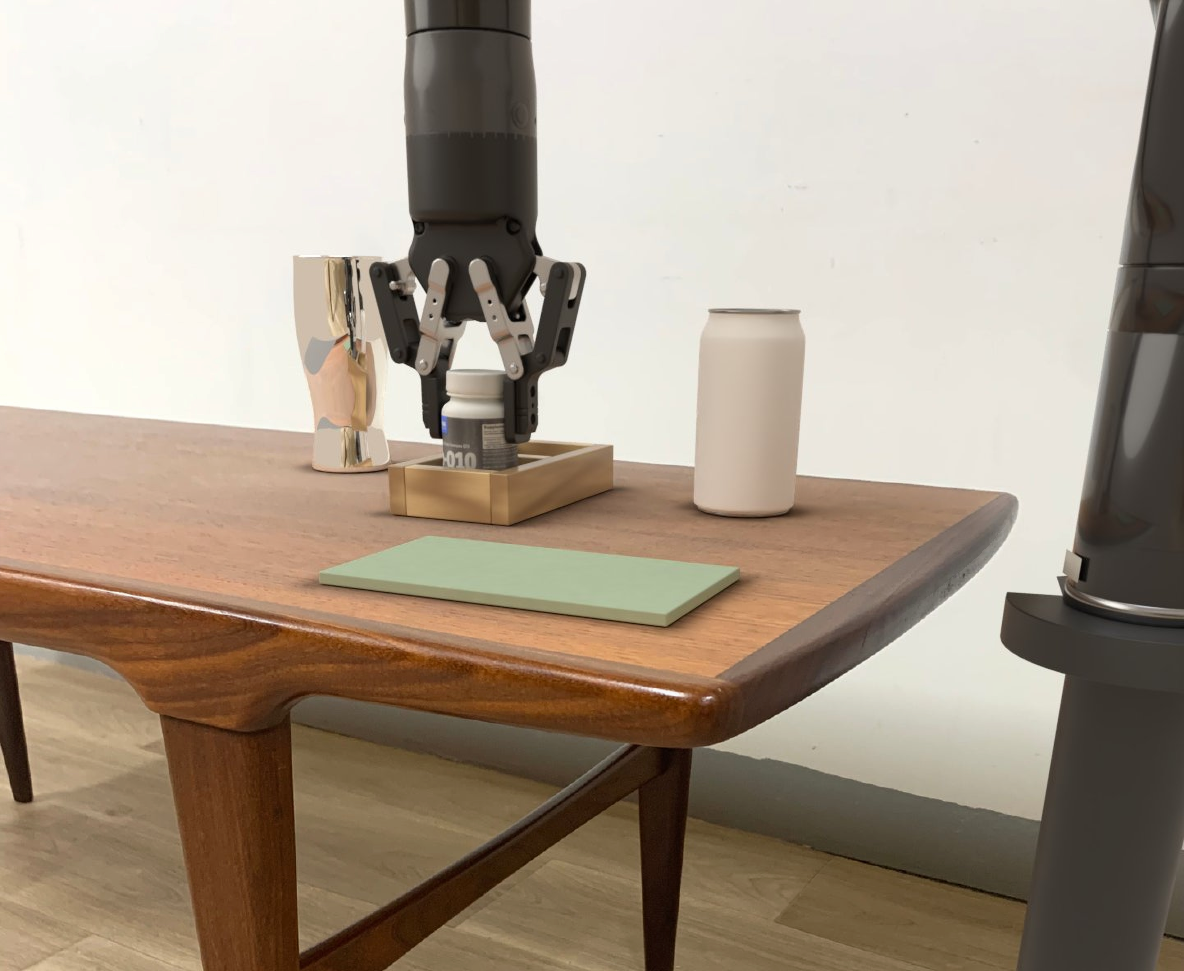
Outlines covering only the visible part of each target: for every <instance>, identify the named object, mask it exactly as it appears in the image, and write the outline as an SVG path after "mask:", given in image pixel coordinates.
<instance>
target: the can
mask: <svg viewBox="0 0 1184 971" xmlns="http://www.w3.org/2000/svg"><path fill="white" fill-rule="evenodd" d="M707 312H708V319H707V321H706V323H705V325H704V327H703V329H702V331H701V334H700V338H699V349H698V350H699V352H698V370H697V371H698V372H697V393H696V395H697V396H696V397H697V398H696V420H695V421H696V422H695V441H694V442H695V444H694V469H693V470H694V472H693V503H694V505H696V507H697V509H698V510H699V511H700V512H703V513H706V514H710V515H715V516H720V517H731V518H768V517H769V518H770V517H777V516H781V515H785V514H788V512H789V511H790V509H791V508H792V507H793V506H794V504H795V497H796V496H795V494H796V481H797V470H798V468H797V467H798V457H799V442H800V430H801V414H802V403H803V402H802V401H803V386H804V372H805V359H806V358H805V356H806V335H805V332H804V329H803V326H802V323H801V320H800V314H801V312H802V310H801V309H791V308H754V307H753V308H752V307H751V308H750V307H749V308H747V307H746V308H745V307H743V308H742V307H741V308H740V307H737V308H736V307H735V308H734V307H731V308H722V307H721V308H708V309H707Z"/></svg>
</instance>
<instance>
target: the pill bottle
mask: <svg viewBox="0 0 1184 971" xmlns="http://www.w3.org/2000/svg"><path fill="white" fill-rule="evenodd" d="M505 380H509V377H508V375H507V374H506V371H505V370H503V369H502V370H501V369H486V368H485V369H484V368H457V369H450V370H448V371H447V372H446V390H447V391H448V392H447V395H449V396H451V399H450V401H449V402H447V403H446V404H445V405H444V406H443V408H442V437H443V439H442V453H443V467H455V468H468V469H481V470H494V471H502V470H506V469H509V468H513V467H517V466H518V444H509V443H507V442H506V440H505V423H504V381H505Z"/></svg>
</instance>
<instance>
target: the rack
mask: <svg viewBox="0 0 1184 971" xmlns="http://www.w3.org/2000/svg"><path fill="white" fill-rule="evenodd" d="M387 475H388V492H389V493H388V494H389V509H390V510H389V511H390V512H389V513H390V514H391V515H393V516H394V515H396V516H405V517H406V516H408V517H417V518H427V519H437V520H445V521H446V520H447V521H456V522H458V521H459V522H467V523H477V524H489V525H491V524H492V525H498V526H507V527H508V526H511V525H514V524H517V523H520V522H523V521H526V520H528V519H531V518H534V517H536V516H539V515H542V514H545V513H547V512H550V511H553V510H557V509H559V508H562V507H564V506H567V505H571V504H574V503H575V502H579V501H582V500H585V499H588V498H589V497H593V496H596V495H598V494H601V493H604V492H606V491H609V490H612V489H613V488H614V444H607V443H606V444H604V443H589V442H576V441H574V442H573V441H561V440H560V441H559V440H544V439H530V440H529V441H528V442H525V443H521V444H518V466H517V467H513V468H509V469H506V470H502V471H494V470H481V469H468V468H455V467H443V452H441V453H436V454H432V455H428V456H423V457H419V458H414V459H410V460H406V461H402V462H397V463H392V465H389V466H388V469H387Z"/></svg>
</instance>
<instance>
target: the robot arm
mask: <svg viewBox="0 0 1184 971" xmlns="http://www.w3.org/2000/svg"><path fill="white" fill-rule="evenodd" d="M1148 4H1149V7H1150V8H1149V9H1150V12H1151V16H1152V20H1153V21H1152V22H1153V26H1154V30H1155V32H1154V40H1153V45H1152V52H1151V59H1150V65H1149V70H1148V76H1147V82H1146V83H1147V84H1146V89H1145V97H1144V102H1143V109H1142V115H1141V122H1140V128H1139V135H1138V142H1137V147H1136V152H1135V159H1134V164H1133V169H1132V175H1131V179H1130V180H1131V181H1130V184H1129V185H1130V186H1129V192H1128V198H1127V205H1126V210H1125V218H1124V224H1123V233H1122V239H1121V245H1120V246H1121V247H1120V251H1119V252H1120V253H1119V259H1118V266H1119V267H1117V271H1116V278H1115V284H1114V290H1113V291H1114V292H1113V295H1112V301H1111V302H1112V303H1111V308H1110V315H1109V322H1108V328H1107V329H1108V330H1107V334H1106V340H1105V344H1104V353H1103V358H1102V364H1101V371H1100V375H1099V376H1100V377H1099V383H1098V388H1097V389H1098V390H1097V396H1096V402H1095V408H1094V414H1093V421H1092V426H1091V432H1090V439H1089V445H1088V451H1087V458H1086V464H1085V470H1084V477H1083V482H1082V487H1081V488H1082V489H1081V493H1080V494H1081V496H1080V501H1079V508H1078V513H1077V518H1076V525H1075V532H1074V539H1073V544H1072V551H1070V550H1069V549H1068V548H1066V550H1065V555H1064V560H1063V561H1064V562H1063V567H1062V574H1064V576H1068V578H1067V579H1066V582H1065V588H1064V594H1063V595H1062V596H1063V600H1064V601H1065V603H1067V604H1068V605H1069V606H1071V607H1073V608H1075V609H1077V610H1079V611H1082V612H1085V613H1087V614H1090V615H1094V616H1097V617H1101V618H1105V619H1110V620H1114V621H1119V622H1125V623H1131V624H1138V625H1145V626H1155V627H1166V628H1184V0H1148ZM403 8H404V32H405V37H406V39H405V56H404V58H405V59H404V68H403V70H404V71H403V110H404V114H403V122H404V134H405V148H406V149H405V151H406V154H405V155H406V174H407V175H406V176H407V177H406V178H407V196H408V197H407V198H408V215H409V216H410V219H411V223H412V227H413V237H412V240H411V244H410V246H409V248H408V252H407V255H405V256H402V257H400V258H397V259H394V260H390V261H389V260H387V261H385V260H384V261H382V262H374V263H372V264H371V266H370V268H369V275H370V279H371V283H372V287H373V291H374V294H375V298H376V302H377V306H378V310H379V314H380V318H381V321H382V325H383V329H384V333H385V337H386V341H387V345H388V348H389V357H390V359H391V360H392V362H393V363H395V364H397V365H402V364H404V365H405V366H407V367H409V368H411V369H414V370H415V371H416V373H417V374H418V375H419V378H420V390H421V391H420V392H421V410H422V411H421V413H422V414H421V415H422V417H421V418H422V422H423V425H424V428H425V429H427V430H429V431H428V433H429V436H430V438H431V439H433V440H443V437H442V408H443V406H444V405H445V404H446V403H447V402H449V401H450V399H451V396H449V395H447V392H448V391H447V390H446V372H447V371H448V370H452V367H453V363H454V358H455V354H456V350H457V347H458V343H459V340H460V339H462V337H463V335H464V334H465V331H466V328H467V327H466V326H467V322H474V321H475V322H479V323H486V326H487V329H488V331H489V335H490V338H491V340H492V341H493V342H494V343H495V344H496V345H497V348H498V351H499V354H500V357H501V362H502V364H503V368H504V371H506V374H507V375H508V377H509V380H505V381H504V423H505V440H506V442H507V443H509V444H521V443H525V442H528V441H529V440H531V438H532V434H533V433H536V432H537V429H538V426H539V379H540V377H541V376H542V375H543V374H544V373H546V372H549V371H550V370H554V369H556V368H560V367H561V368H562V367H563V366H565V365H566V364H567V362H568V359H569V355H570V350H571V346H572V341H573V336H574V333H575V332H574V331H575V328H576V323H577V318H578V315H579V310H580V306H581V301H582V296H583V292H584V288H585V284H586V278H587V269H586V267H585V266H584V264H582V263H581V262H578V261H577V262H576V261H561V260H559V259H558V260H557V259H555V258H552V257H548V256H545V255H544V251H543V249H542V246H541V245H540V242H539V240H538V237H537V236H538V235H537V231H536V230H537V229H536V228H537V221H538V216H539V200H538V199H539V198H538V197H539V195H538V194H539V192H538V191H539V188H538V185H539V184H538V182H539V180H538V176H539V175H538V92H537V91H538V90H537V89H538V88H537V79H536V70H535V64H534V56H533V42H532V38H533V37H532V0H403ZM416 279H417V280H416ZM537 279H538V280H539V292H540V294H541V296H542V297H543V301H542V306H541V311H540V316H539V319H538V320H539V321H538V325H537V329H536V335H535V340H534V334H535V327H534V323H533V319H532V316H531V313H530V308H529V306H528V303H527V300H526V296H527V295H528V293H529V292H530V290H531V288H532V287H533V285H534V283H535V281H536V280H537ZM416 281H418V283H419V285H420V286H421V288H422V290H423V291H424V293H425V294H426V297H425V300H424V305H423V308H422V313H421V318H420V317H419V316H420V315H419V312H418V308H417V305H416V300H415V297H414V293H415V291H416V289H417V286H418V284H417V282H416Z"/></svg>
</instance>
